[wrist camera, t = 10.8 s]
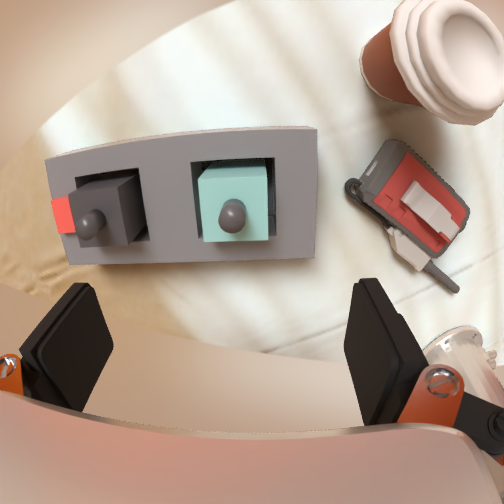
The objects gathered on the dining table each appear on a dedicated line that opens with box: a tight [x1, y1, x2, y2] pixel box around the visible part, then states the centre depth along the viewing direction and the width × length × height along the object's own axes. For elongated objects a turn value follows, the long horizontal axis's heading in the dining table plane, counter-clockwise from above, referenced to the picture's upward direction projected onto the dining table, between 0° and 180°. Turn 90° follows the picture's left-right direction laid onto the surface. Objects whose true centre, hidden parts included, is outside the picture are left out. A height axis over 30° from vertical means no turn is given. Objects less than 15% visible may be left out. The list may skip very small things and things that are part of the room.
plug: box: [198, 159, 268, 242], centre depth 22 cm, size 4×4×9 cm
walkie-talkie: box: [345, 140, 470, 293], centre depth 26 cm, size 9×4×20 cm
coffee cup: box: [359, 0, 504, 125], centre depth 15 cm, size 9×9×12 cm
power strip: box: [45, 126, 317, 265], centre depth 22 cm, size 22×10×9 cm, turn 92°
